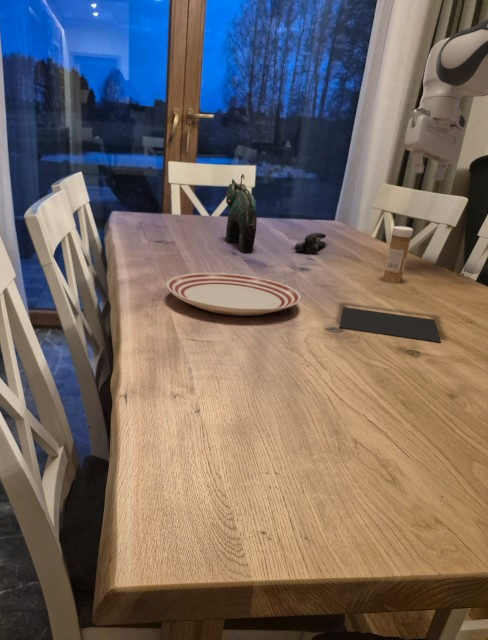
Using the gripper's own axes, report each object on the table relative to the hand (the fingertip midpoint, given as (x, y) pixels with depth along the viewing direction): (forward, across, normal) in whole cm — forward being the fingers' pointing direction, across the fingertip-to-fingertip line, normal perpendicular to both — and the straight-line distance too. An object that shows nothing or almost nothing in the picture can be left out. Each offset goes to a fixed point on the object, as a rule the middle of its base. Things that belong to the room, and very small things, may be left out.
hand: (428, 176), depth 141 cm
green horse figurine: (+18, -15, +48) cm, 54 cm away
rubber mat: (+35, -37, -17) cm, 54 cm away
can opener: (+18, +3, +35) cm, 40 cm away
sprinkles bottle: (+27, -9, 0) cm, 28 cm away
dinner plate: (+34, -55, +7) cm, 65 cm away
